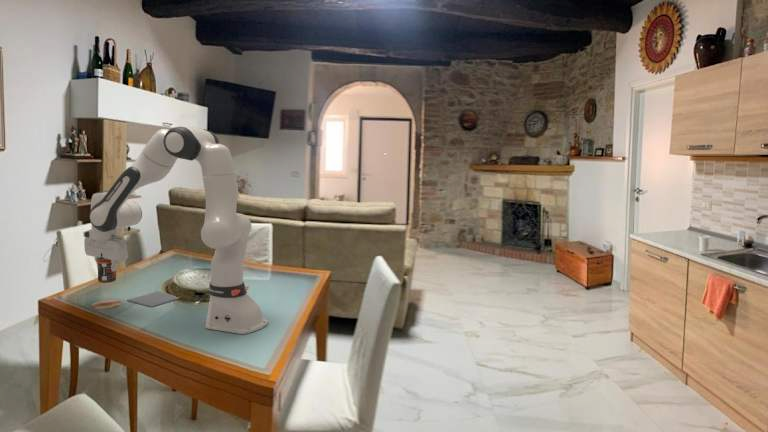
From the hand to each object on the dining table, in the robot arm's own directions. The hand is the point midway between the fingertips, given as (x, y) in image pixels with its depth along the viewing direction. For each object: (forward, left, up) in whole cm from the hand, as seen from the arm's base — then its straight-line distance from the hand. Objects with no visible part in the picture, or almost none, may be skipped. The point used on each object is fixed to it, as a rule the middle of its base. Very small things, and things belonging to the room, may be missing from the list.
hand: (106, 269), depth 173 cm
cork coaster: (0, 0, -14) cm, 14 cm away
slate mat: (-9, -14, -14) cm, 21 cm away
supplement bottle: (0, 0, -5) cm, 5 cm away
